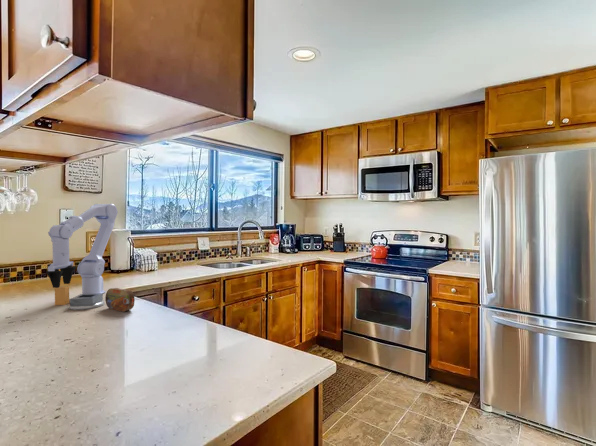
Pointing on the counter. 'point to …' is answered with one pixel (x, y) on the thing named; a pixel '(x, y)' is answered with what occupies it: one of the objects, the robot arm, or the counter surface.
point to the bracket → (86, 301)
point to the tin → (119, 299)
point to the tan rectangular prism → (61, 295)
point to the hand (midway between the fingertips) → (61, 285)
